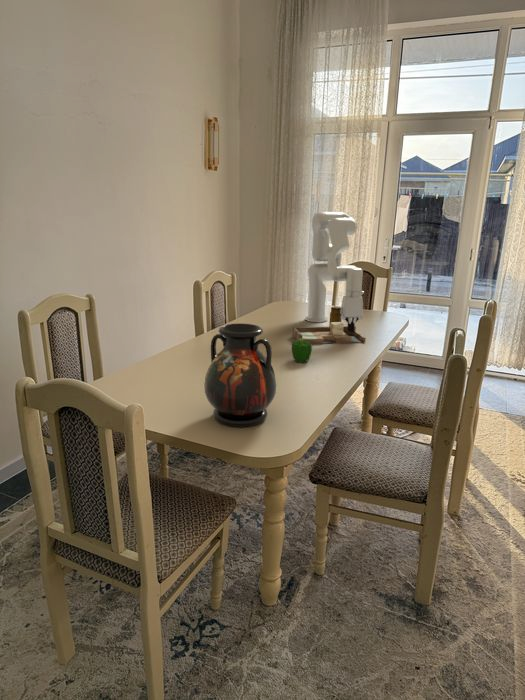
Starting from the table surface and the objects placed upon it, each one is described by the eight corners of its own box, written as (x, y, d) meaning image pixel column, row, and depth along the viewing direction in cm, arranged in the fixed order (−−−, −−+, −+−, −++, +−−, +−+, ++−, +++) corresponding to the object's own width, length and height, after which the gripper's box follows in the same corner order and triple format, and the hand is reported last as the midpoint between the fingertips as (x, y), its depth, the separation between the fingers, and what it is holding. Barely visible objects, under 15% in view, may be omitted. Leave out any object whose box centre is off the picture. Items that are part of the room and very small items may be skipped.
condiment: (334, 327, 263) (336, 305, 259) (346, 331, 256) (348, 308, 253) (325, 329, 258) (326, 307, 255) (337, 333, 252) (338, 310, 248)
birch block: (330, 332, 242) (330, 322, 241) (339, 332, 243) (340, 322, 242) (333, 334, 238) (333, 324, 236) (343, 334, 239) (343, 324, 237)
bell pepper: (299, 356, 211) (300, 334, 209) (314, 361, 206) (315, 337, 203) (286, 360, 206) (287, 337, 203) (301, 365, 200) (302, 341, 197)
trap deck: (292, 336, 244) (292, 327, 242) (354, 334, 249) (355, 326, 248) (299, 344, 229) (300, 335, 228) (365, 342, 235) (365, 333, 233)
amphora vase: (191, 425, 144) (189, 332, 136) (223, 399, 164) (222, 317, 156) (260, 438, 137) (262, 341, 129) (284, 409, 156) (287, 323, 149)
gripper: (365, 292, 241) (362, 328, 246) (335, 292, 239) (333, 329, 244) (371, 295, 234) (368, 332, 239) (340, 295, 231) (338, 333, 237)
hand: (350, 330), depth 241 cm, fingers closed
